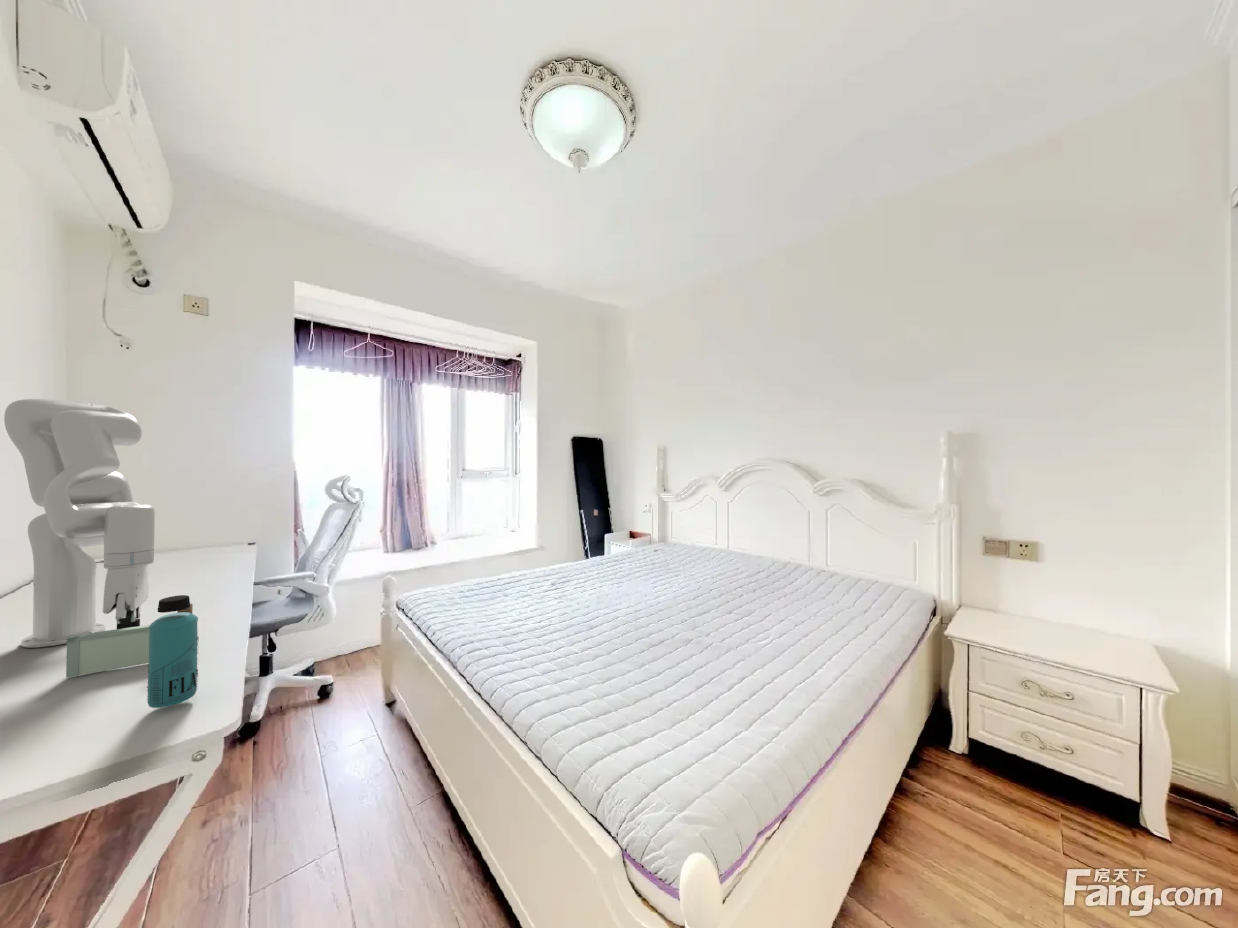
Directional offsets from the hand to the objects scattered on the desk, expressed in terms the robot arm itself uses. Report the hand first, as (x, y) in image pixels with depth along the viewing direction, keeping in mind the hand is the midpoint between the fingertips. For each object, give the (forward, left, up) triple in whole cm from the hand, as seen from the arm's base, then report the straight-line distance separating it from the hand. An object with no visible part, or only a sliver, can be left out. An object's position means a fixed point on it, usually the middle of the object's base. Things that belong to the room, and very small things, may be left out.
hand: (128, 638), depth 97 cm
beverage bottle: (+34, +14, -4) cm, 37 cm away
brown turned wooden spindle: (+9, +11, -4) cm, 15 cm away
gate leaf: (+9, +1, -3) cm, 10 cm away
